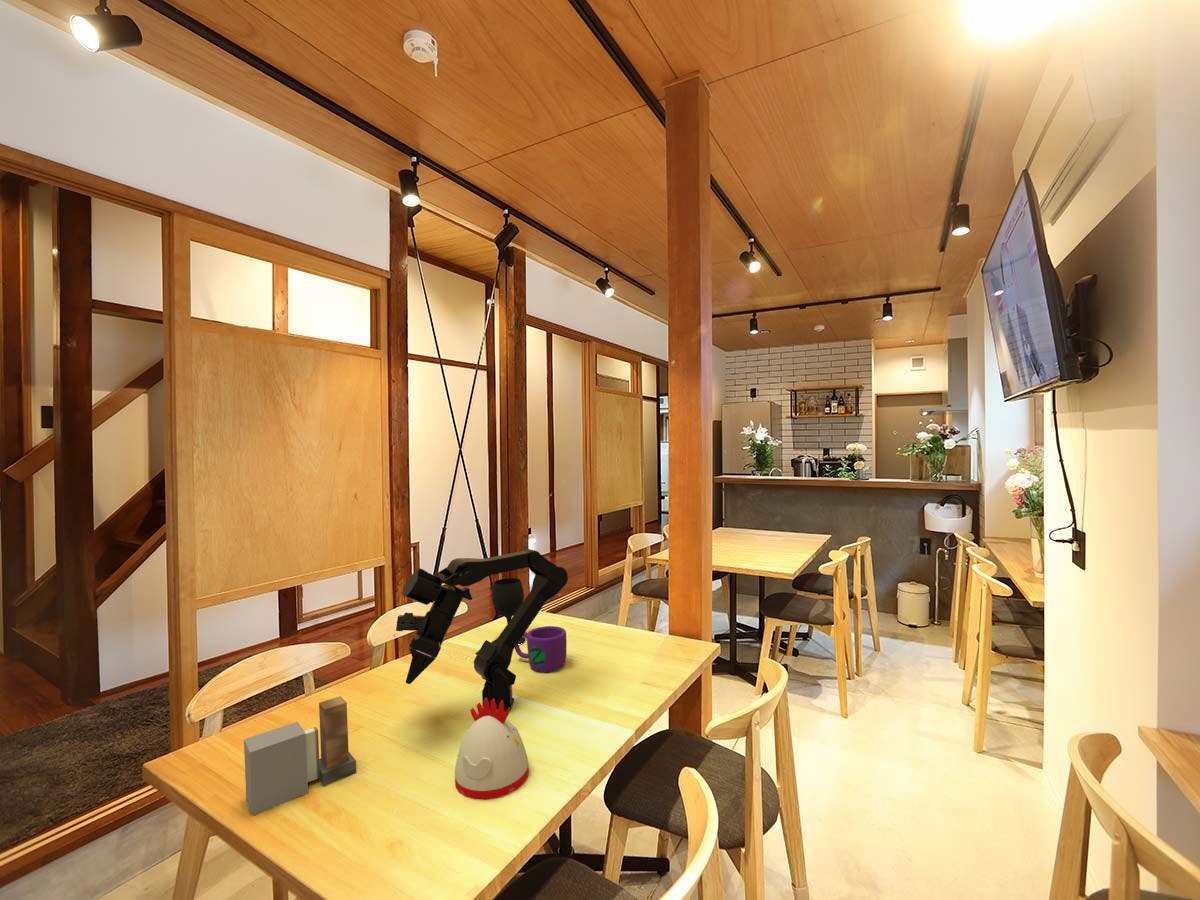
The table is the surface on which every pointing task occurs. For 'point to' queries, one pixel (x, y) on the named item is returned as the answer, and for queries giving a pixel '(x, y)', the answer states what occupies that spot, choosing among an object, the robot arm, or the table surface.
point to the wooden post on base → (334, 742)
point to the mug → (545, 648)
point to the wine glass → (508, 597)
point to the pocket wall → (275, 767)
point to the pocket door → (312, 754)
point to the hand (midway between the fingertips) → (409, 679)
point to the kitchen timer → (490, 755)
